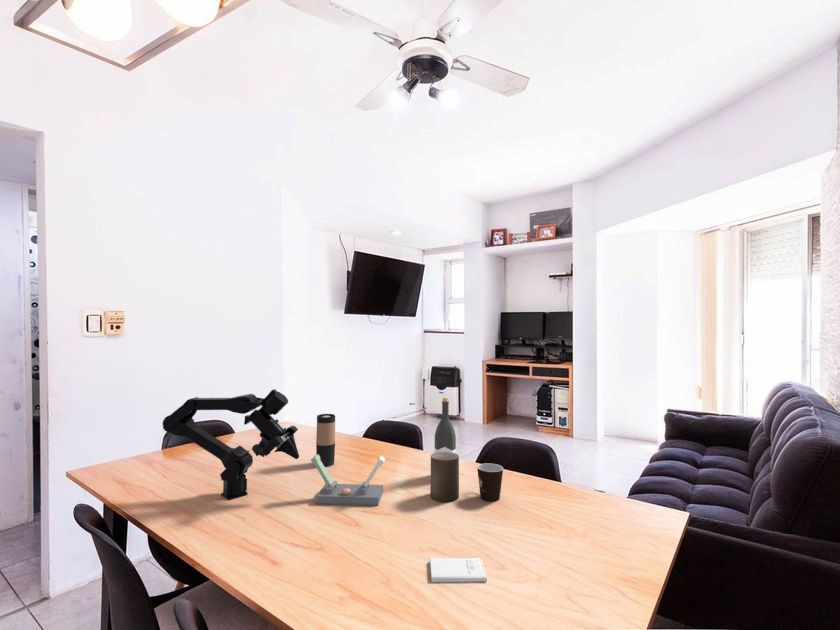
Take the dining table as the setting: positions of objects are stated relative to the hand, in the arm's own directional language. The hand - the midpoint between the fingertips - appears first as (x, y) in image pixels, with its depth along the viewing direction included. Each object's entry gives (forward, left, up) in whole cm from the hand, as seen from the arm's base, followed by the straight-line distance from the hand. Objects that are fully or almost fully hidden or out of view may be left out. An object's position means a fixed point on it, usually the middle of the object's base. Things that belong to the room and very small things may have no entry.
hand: (298, 458), depth 142 cm
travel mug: (+26, +21, -13) cm, 36 cm away
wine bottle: (+49, -24, -13) cm, 56 cm away
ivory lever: (+14, -17, -9) cm, 24 cm away
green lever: (+7, -9, -9) cm, 15 cm away
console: (+12, -14, -13) cm, 22 cm away
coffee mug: (+45, -47, -13) cm, 66 cm away
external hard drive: (+2, -66, -13) cm, 67 cm away
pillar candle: (+34, -36, -13) cm, 51 cm away
